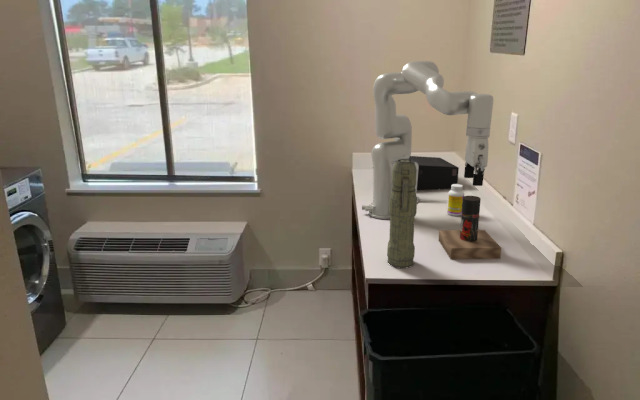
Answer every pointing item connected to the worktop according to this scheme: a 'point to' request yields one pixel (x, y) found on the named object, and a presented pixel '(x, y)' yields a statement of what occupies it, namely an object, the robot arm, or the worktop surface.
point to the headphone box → (435, 173)
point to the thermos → (402, 214)
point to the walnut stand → (469, 246)
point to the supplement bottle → (455, 200)
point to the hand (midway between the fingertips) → (472, 181)
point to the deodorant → (470, 218)
